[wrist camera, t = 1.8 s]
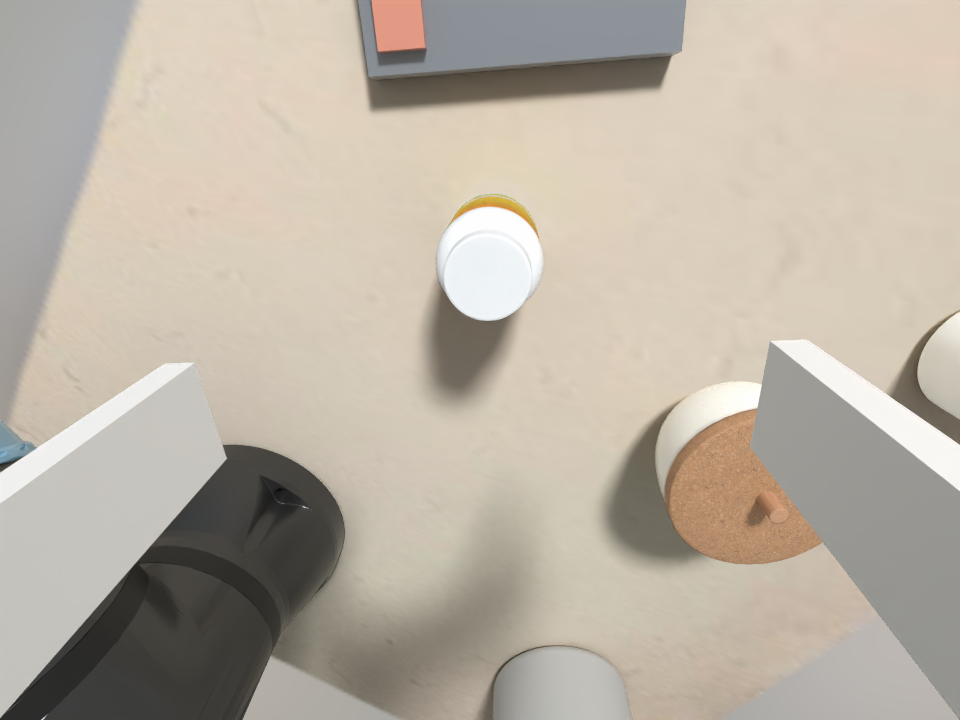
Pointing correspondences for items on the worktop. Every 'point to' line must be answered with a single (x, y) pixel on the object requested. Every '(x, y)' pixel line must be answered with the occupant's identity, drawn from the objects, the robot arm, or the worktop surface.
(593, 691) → the cylinder vase
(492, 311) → the supplement bottle
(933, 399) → the beverage can
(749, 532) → the lidded jar
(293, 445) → the worktop surface
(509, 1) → the socket plate
